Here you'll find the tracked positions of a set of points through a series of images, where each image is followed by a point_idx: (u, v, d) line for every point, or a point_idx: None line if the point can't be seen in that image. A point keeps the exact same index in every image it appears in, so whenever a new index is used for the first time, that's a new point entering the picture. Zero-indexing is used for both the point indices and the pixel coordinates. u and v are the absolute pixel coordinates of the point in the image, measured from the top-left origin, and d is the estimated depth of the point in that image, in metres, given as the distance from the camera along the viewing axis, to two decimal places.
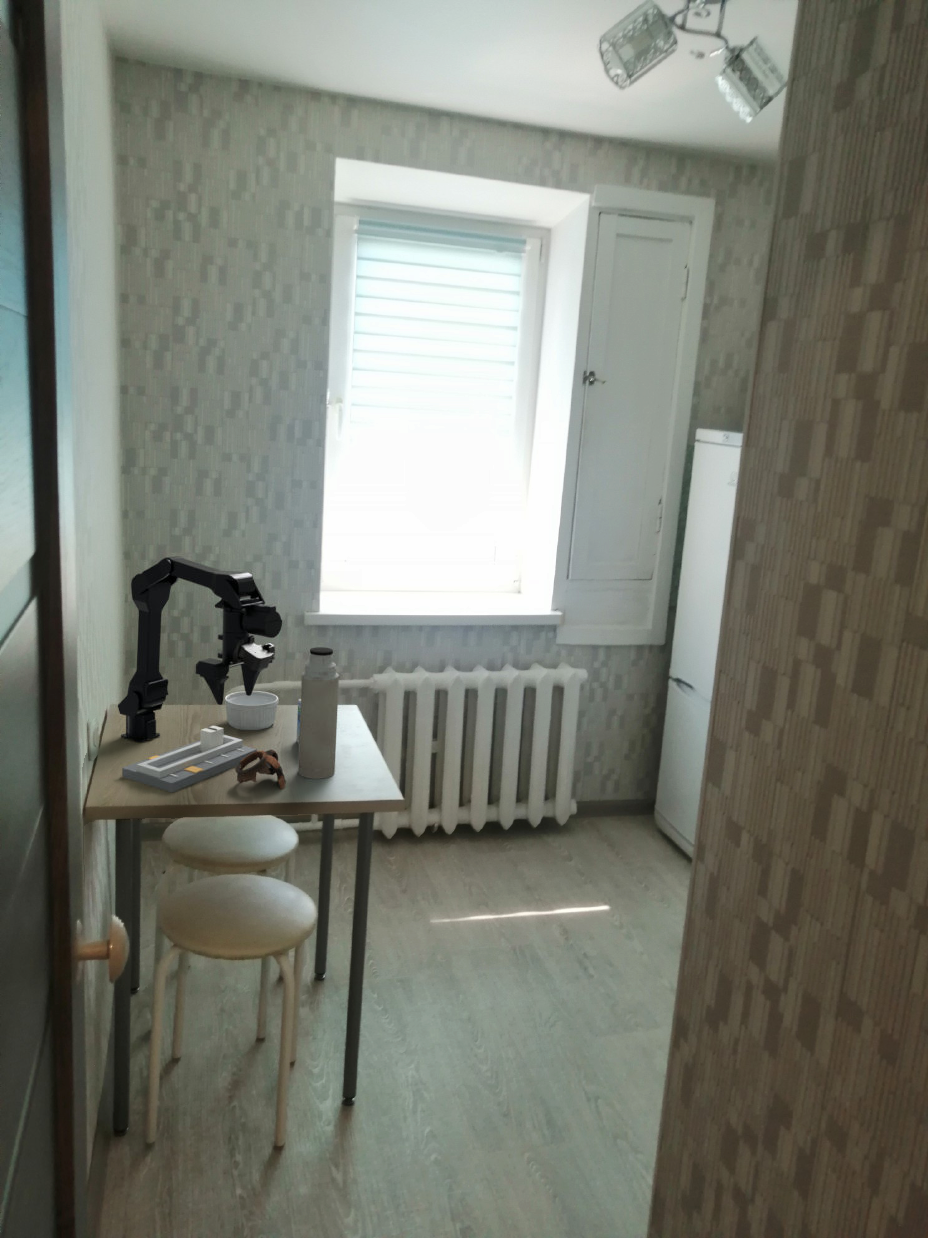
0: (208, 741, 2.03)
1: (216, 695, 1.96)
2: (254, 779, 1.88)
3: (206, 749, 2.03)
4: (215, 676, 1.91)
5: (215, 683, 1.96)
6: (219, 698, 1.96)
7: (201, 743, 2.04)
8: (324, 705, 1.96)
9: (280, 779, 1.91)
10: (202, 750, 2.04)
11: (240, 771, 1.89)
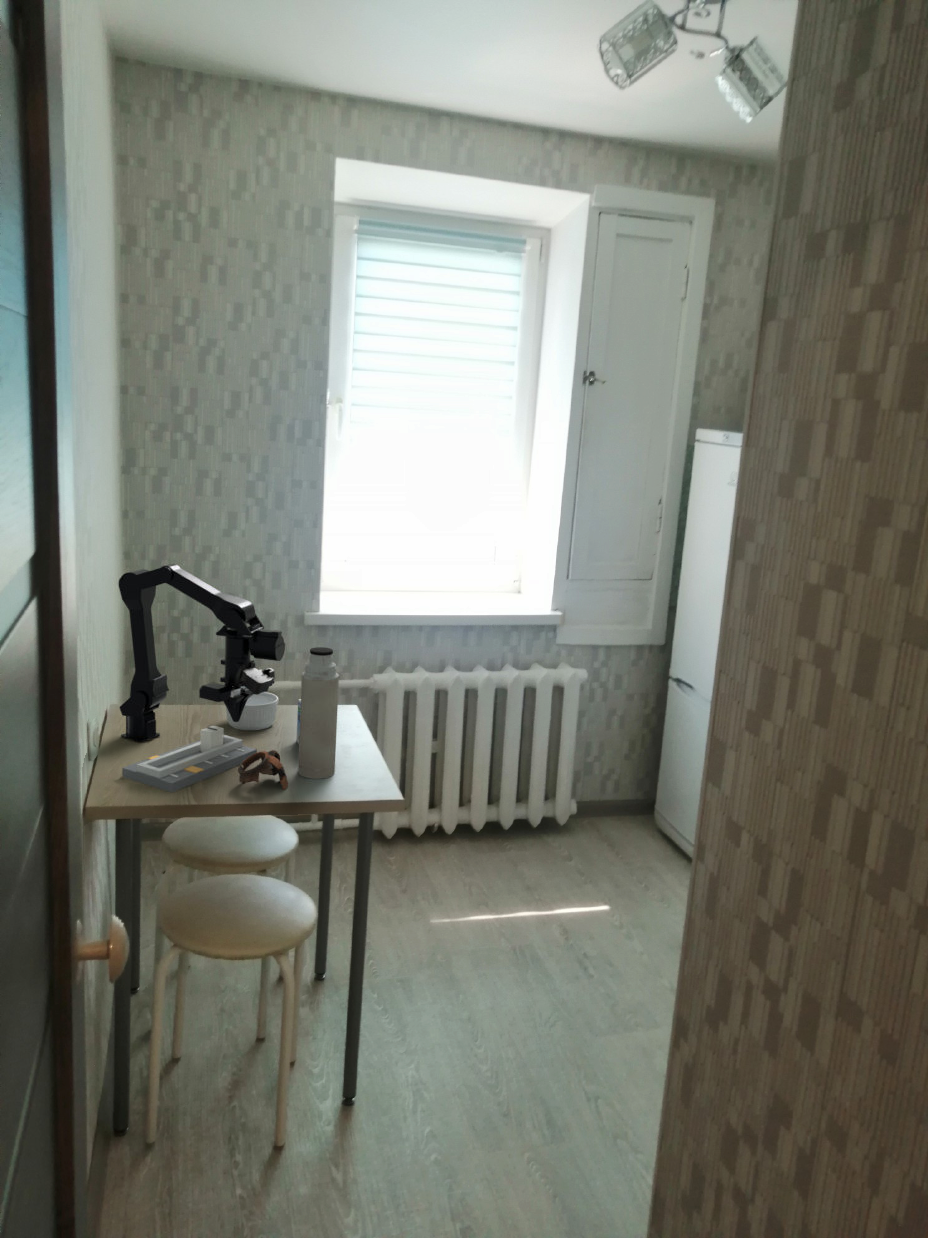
0: (208, 741, 2.03)
1: (232, 713, 2.10)
2: (257, 780, 1.88)
3: (206, 749, 2.03)
4: (218, 700, 2.01)
5: (231, 702, 2.09)
6: (235, 716, 2.10)
7: (201, 743, 2.04)
8: (324, 705, 1.96)
9: (282, 780, 1.91)
10: (202, 750, 2.04)
11: (242, 772, 1.89)
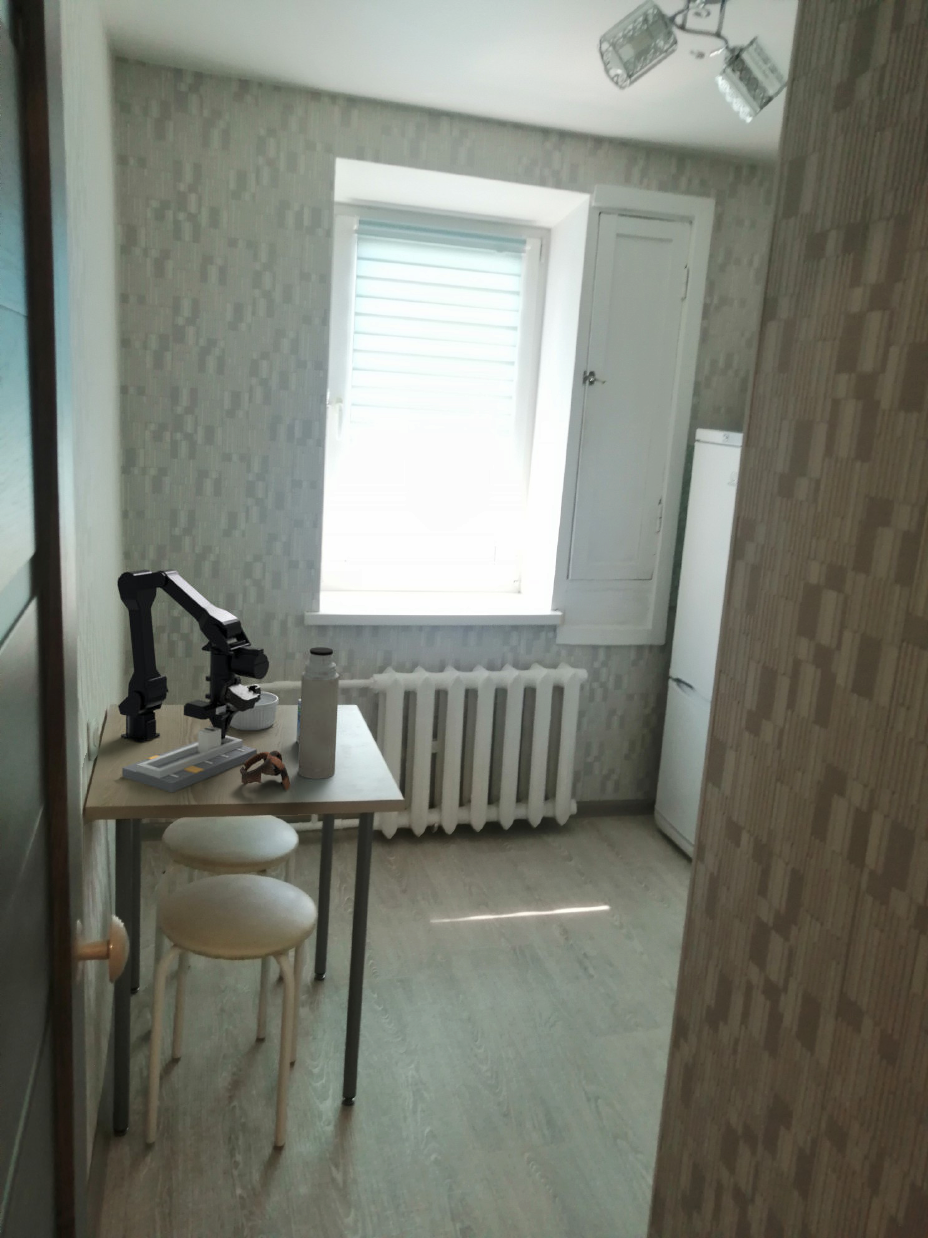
0: (206, 741, 2.02)
1: None
2: (259, 780, 1.87)
3: (204, 750, 2.03)
4: (202, 718, 1.97)
5: (217, 719, 2.06)
6: None
7: (199, 744, 2.03)
8: (324, 705, 1.96)
9: (285, 780, 1.91)
10: (200, 751, 2.03)
11: (245, 772, 1.88)
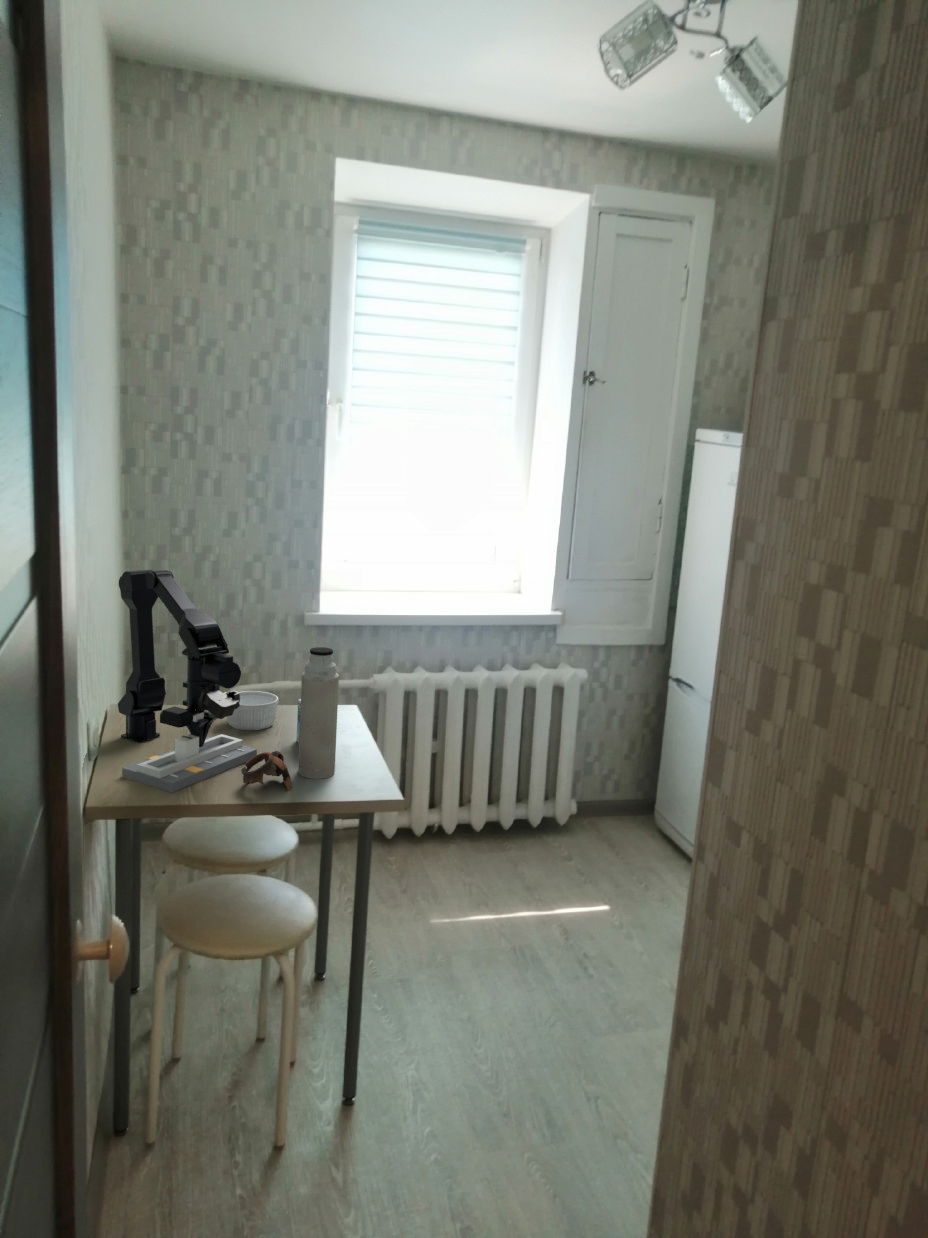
0: (183, 750, 1.96)
1: None
2: (261, 781, 1.87)
3: (181, 758, 1.97)
4: (179, 726, 1.91)
5: (194, 726, 2.00)
6: None
7: (176, 752, 1.97)
8: (324, 705, 1.96)
9: (286, 780, 1.91)
10: (177, 759, 1.97)
11: (246, 773, 1.88)
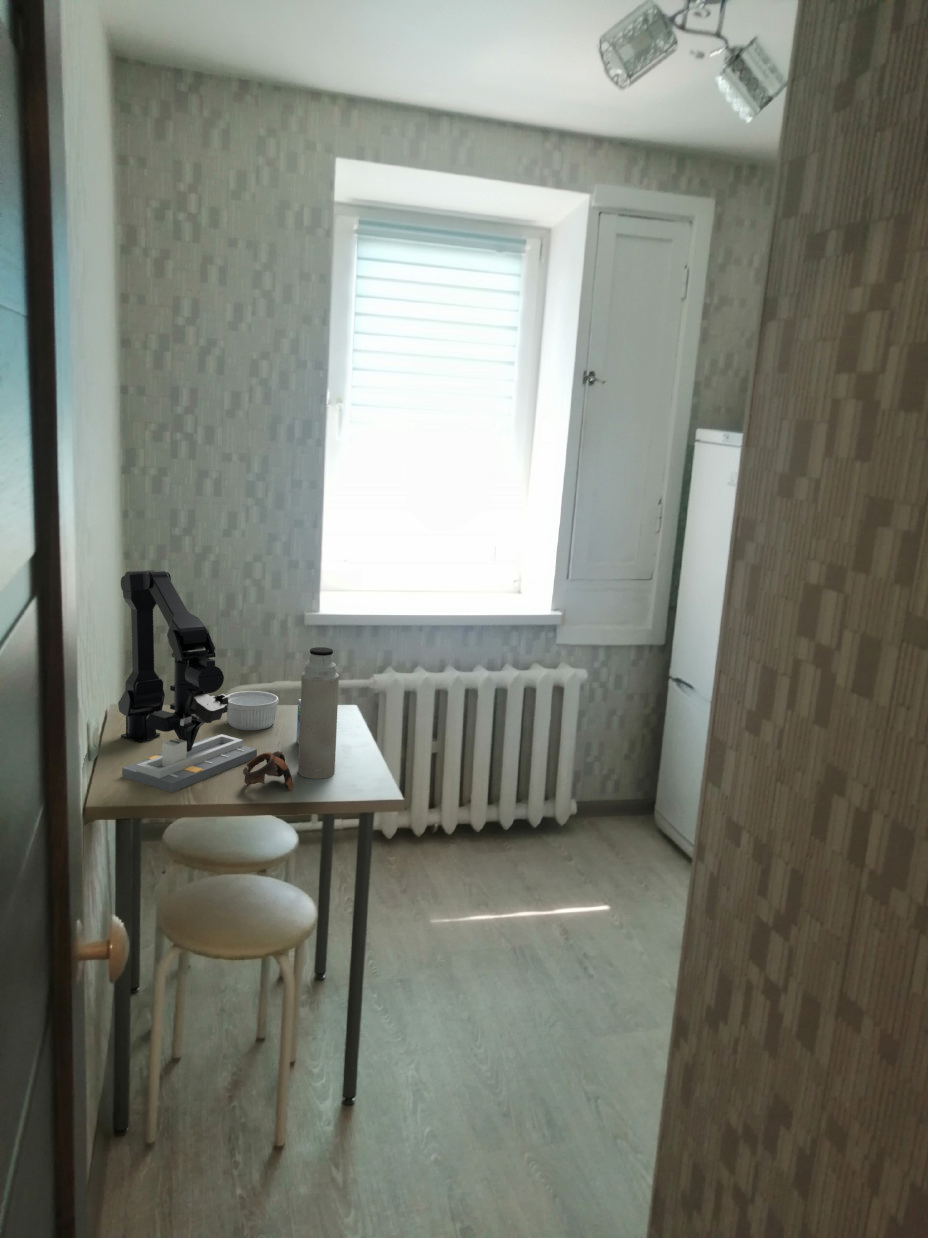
0: (170, 754, 1.93)
1: None
2: (262, 781, 1.87)
3: (168, 763, 1.93)
4: (165, 730, 1.88)
5: (182, 730, 1.96)
6: None
7: (163, 757, 1.94)
8: (324, 705, 1.96)
9: (288, 781, 1.91)
10: (164, 764, 1.94)
11: (248, 773, 1.88)
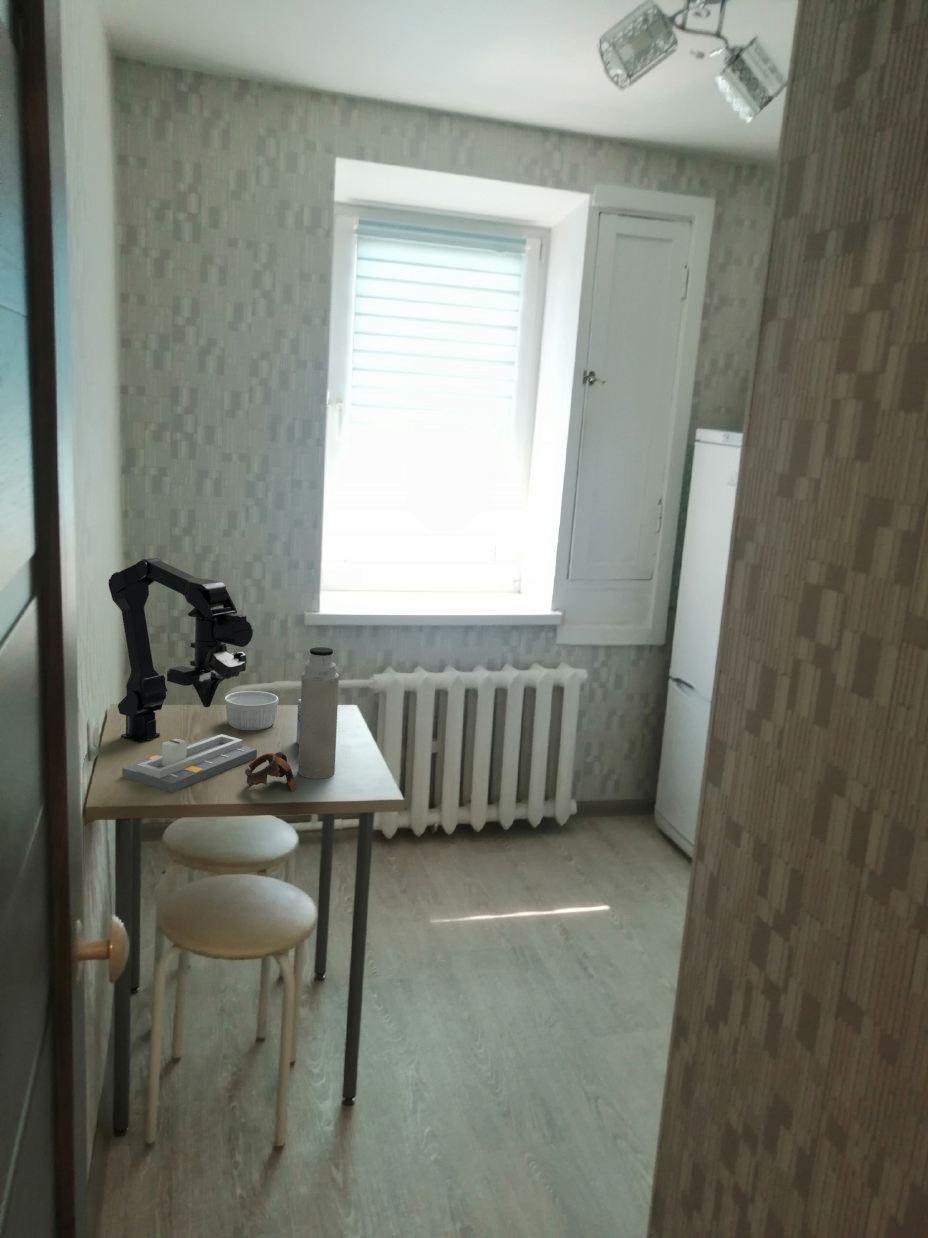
0: (170, 754, 1.93)
1: (202, 698, 2.03)
2: (265, 782, 1.87)
3: (168, 763, 1.93)
4: (185, 684, 1.94)
5: (201, 686, 2.03)
6: (205, 701, 2.03)
7: (163, 757, 1.94)
8: (324, 705, 1.96)
9: (290, 781, 1.91)
10: (164, 764, 1.94)
11: (250, 774, 1.88)
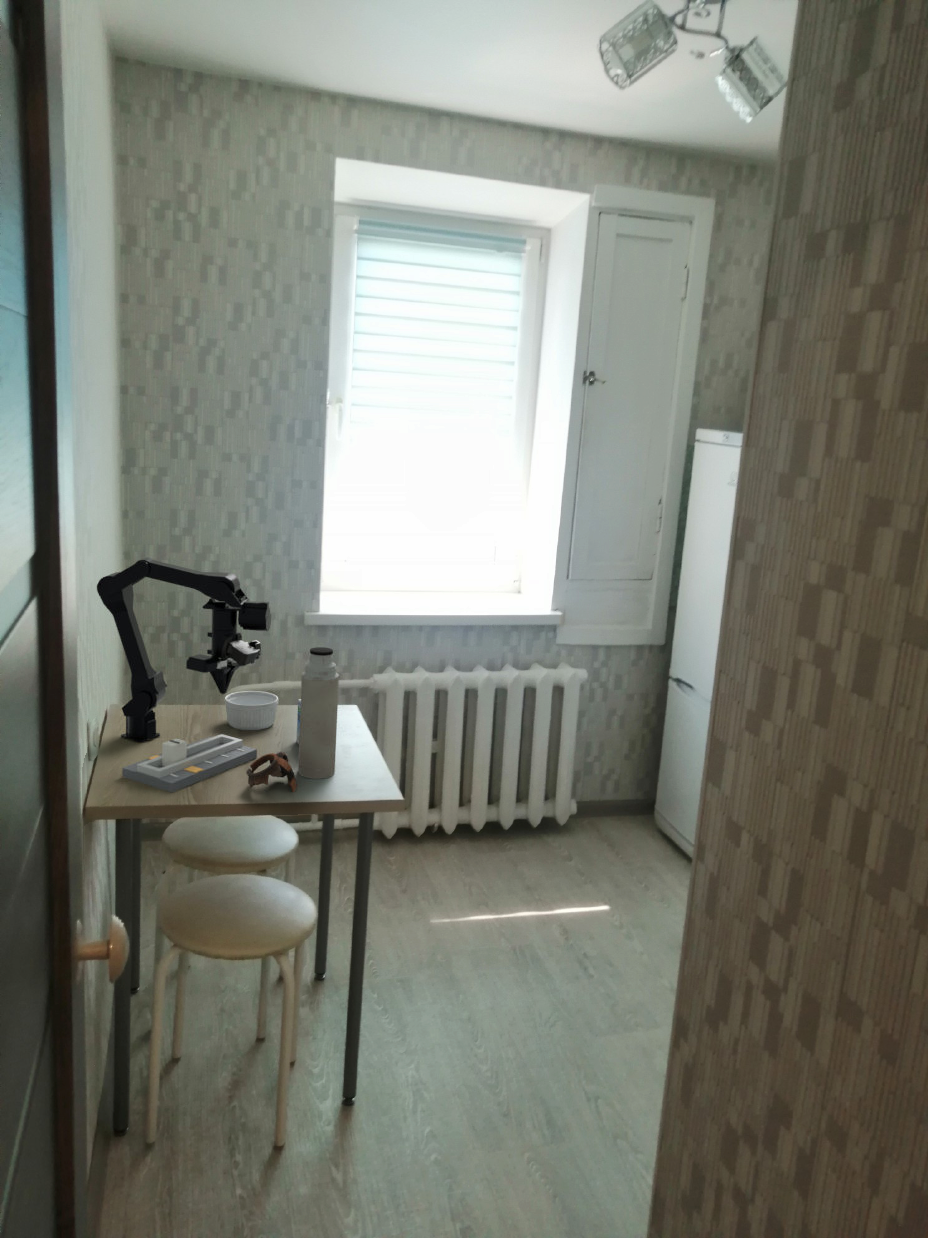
0: (170, 754, 1.93)
1: (219, 685, 2.14)
2: (266, 782, 1.87)
3: (168, 763, 1.93)
4: (204, 671, 2.04)
5: (218, 674, 2.13)
6: (222, 687, 2.14)
7: (163, 757, 1.94)
8: (324, 705, 1.96)
9: (292, 782, 1.91)
10: (164, 764, 1.94)
11: (252, 774, 1.88)
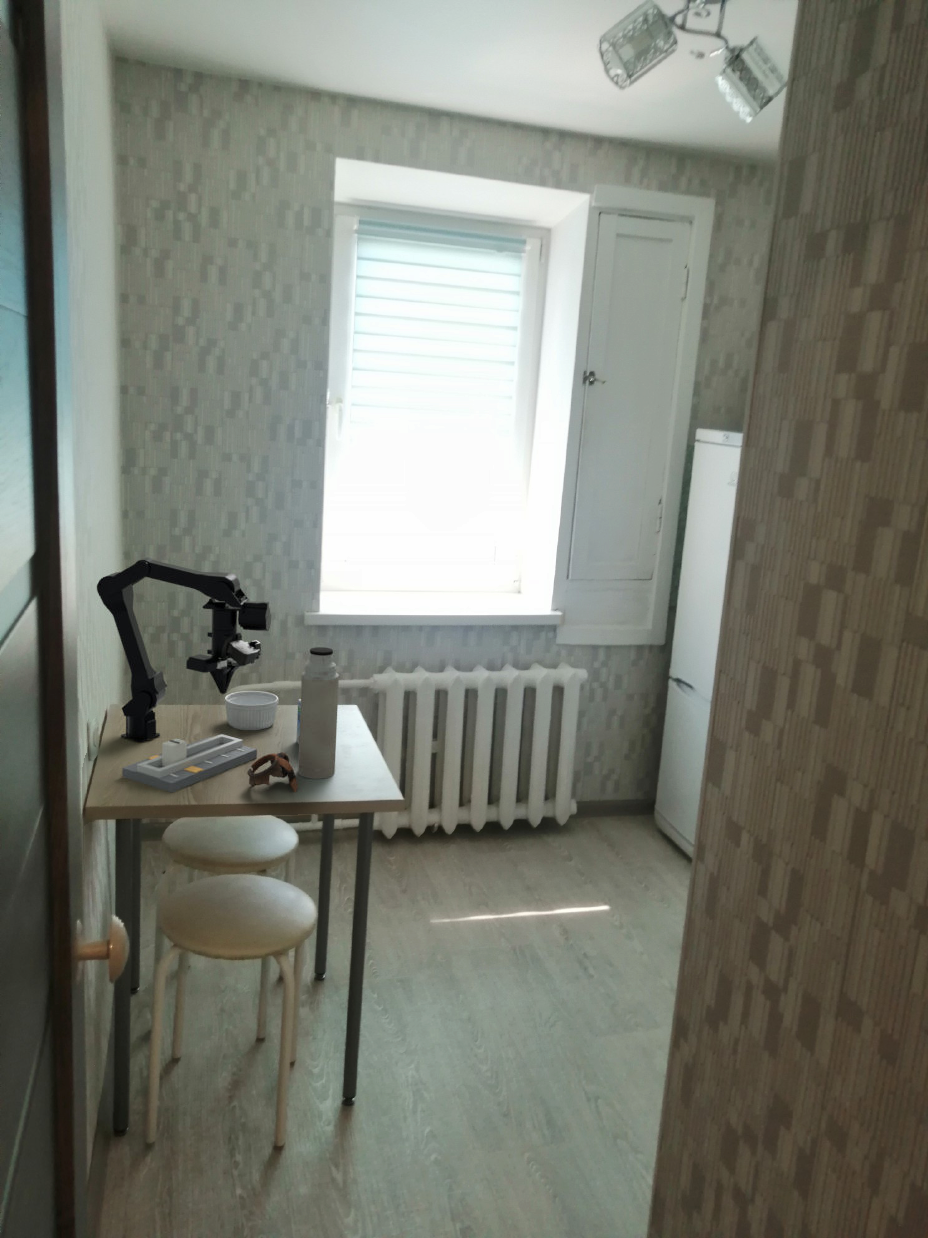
0: (170, 754, 1.93)
1: (219, 685, 2.14)
2: (267, 782, 1.87)
3: (168, 763, 1.93)
4: (204, 671, 2.04)
5: (218, 674, 2.13)
6: (222, 687, 2.14)
7: (163, 757, 1.94)
8: (324, 705, 1.96)
9: (293, 782, 1.90)
10: (164, 764, 1.94)
11: (253, 774, 1.88)
